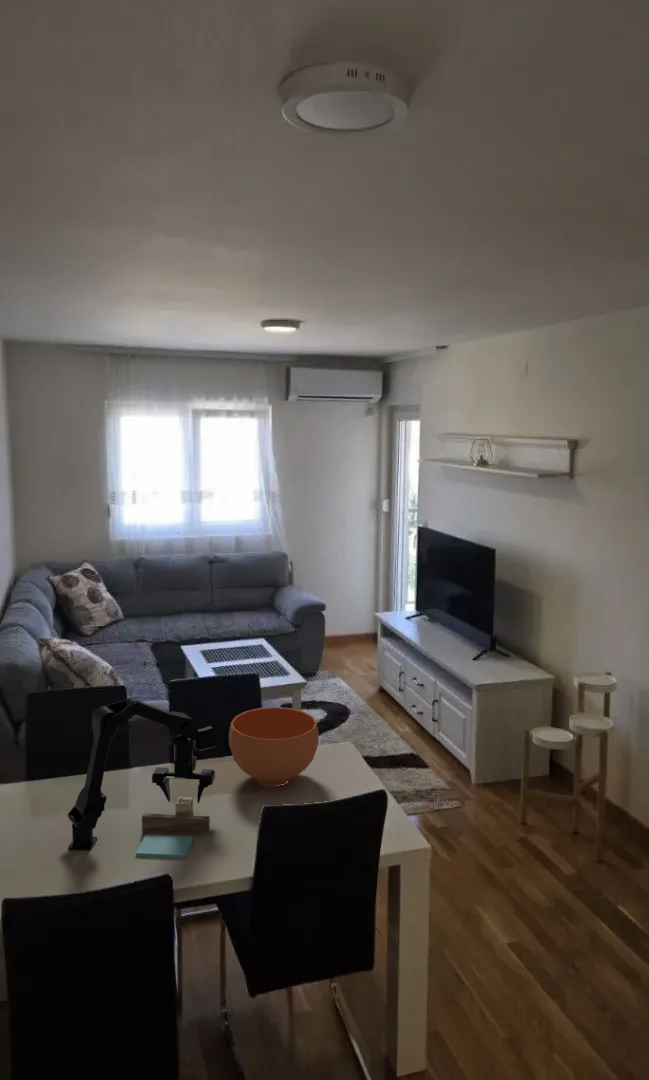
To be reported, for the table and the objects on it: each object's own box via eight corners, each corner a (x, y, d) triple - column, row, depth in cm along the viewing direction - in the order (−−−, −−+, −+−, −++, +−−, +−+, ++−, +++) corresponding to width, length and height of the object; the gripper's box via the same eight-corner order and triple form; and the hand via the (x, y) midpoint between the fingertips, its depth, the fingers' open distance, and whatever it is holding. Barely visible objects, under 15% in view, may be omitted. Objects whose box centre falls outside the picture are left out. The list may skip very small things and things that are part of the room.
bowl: (333, 773, 275) (334, 717, 272) (286, 808, 249) (286, 747, 246) (262, 754, 290) (263, 700, 287) (211, 785, 264) (211, 727, 261)
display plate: (185, 858, 220) (185, 855, 220) (136, 856, 221) (135, 853, 221) (192, 839, 230) (192, 836, 230) (145, 837, 231) (145, 834, 231)
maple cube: (189, 817, 243) (189, 804, 242) (175, 817, 243) (175, 803, 242) (193, 810, 247) (192, 797, 247) (178, 810, 247) (178, 796, 247)
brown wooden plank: (208, 834, 233) (208, 819, 232) (142, 831, 234) (141, 816, 233) (209, 831, 235) (209, 816, 234) (143, 829, 236) (143, 813, 235)
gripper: (218, 745, 250) (218, 791, 252) (160, 742, 251) (161, 788, 253) (211, 759, 239) (211, 807, 241) (151, 757, 240) (151, 805, 242)
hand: (184, 801), depth 244 cm, fingers open, 9 cm apart
